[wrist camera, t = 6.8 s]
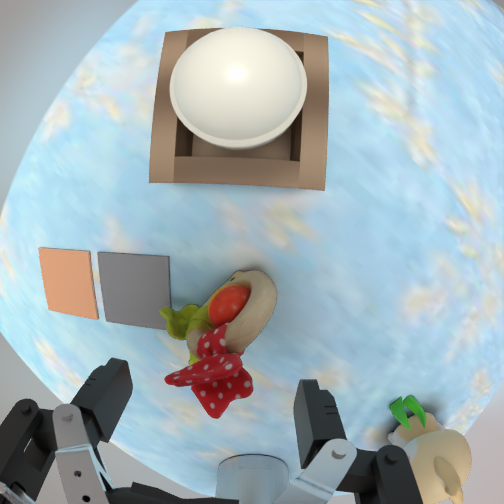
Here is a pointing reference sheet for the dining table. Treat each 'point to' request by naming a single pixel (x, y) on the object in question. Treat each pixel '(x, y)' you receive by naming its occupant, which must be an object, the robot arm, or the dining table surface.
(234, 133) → the dome button
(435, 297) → the dining table surface
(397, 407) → the kitten
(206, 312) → the bird rattle
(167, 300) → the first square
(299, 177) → the button frame
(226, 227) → the dining table surface
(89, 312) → the tile
